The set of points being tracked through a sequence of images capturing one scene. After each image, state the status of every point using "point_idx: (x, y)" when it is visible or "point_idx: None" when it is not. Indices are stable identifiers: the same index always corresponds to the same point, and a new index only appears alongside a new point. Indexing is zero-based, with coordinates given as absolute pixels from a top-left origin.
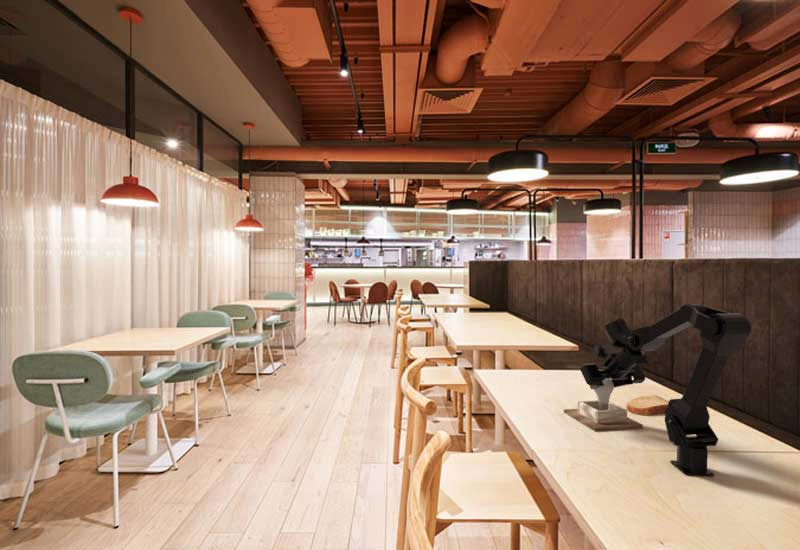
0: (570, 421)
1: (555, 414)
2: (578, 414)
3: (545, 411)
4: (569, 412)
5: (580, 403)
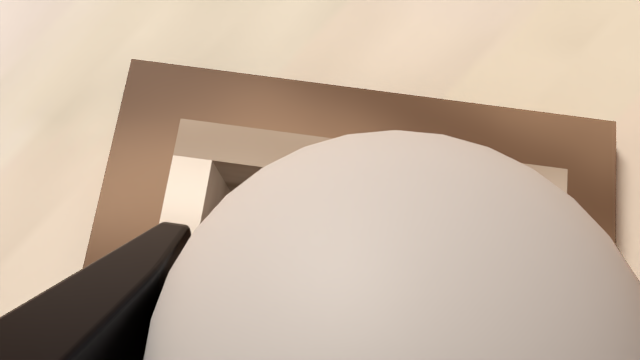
0: (15, 283)
1: (29, 90)
2: (160, 216)
3: (3, 3)
4: (119, 142)
5: (171, 175)
